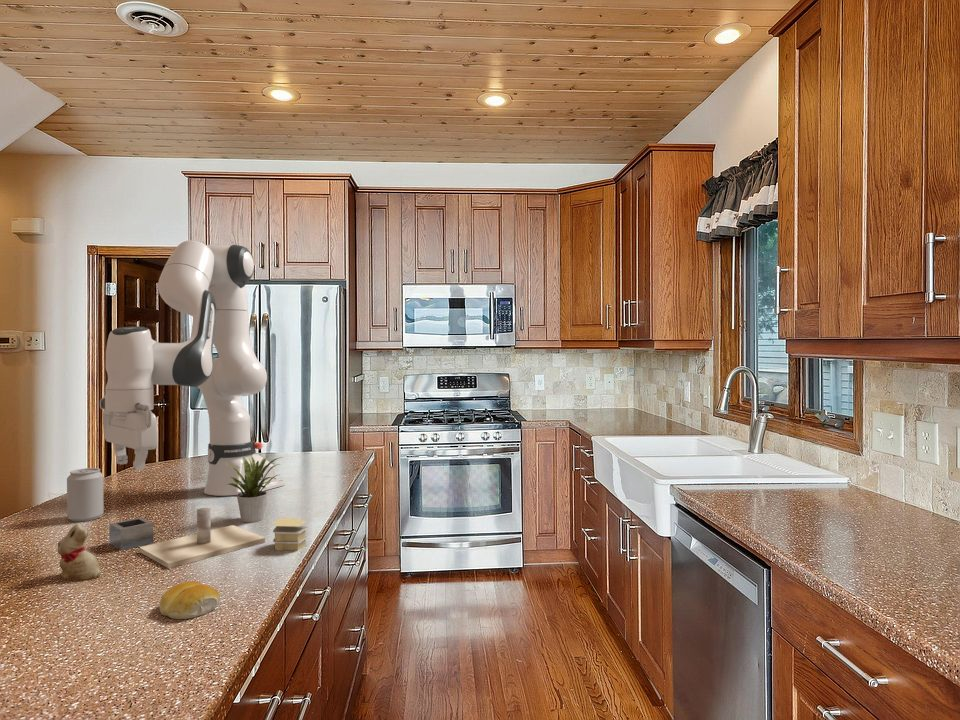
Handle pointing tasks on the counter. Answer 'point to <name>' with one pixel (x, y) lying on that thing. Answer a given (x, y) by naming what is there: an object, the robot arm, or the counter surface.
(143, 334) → the robot arm
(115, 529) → the hollow square tube
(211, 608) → the bread roll
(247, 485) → the house plant
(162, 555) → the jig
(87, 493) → the can
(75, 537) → the chocolate bunny
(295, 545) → the stacked food containers
